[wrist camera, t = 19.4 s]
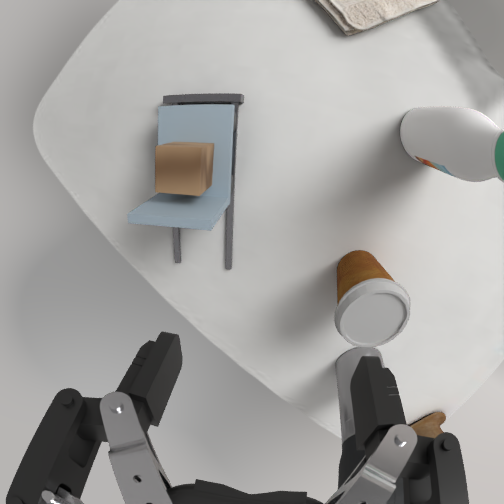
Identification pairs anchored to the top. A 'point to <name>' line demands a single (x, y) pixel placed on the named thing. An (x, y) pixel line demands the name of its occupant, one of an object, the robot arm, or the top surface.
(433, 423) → the tan boot
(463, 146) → the milk bottle
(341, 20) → the washcloth
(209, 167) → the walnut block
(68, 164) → the top surface
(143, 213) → the pale blue l-shaped block
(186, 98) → the rails
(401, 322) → the disposable coffee cup
